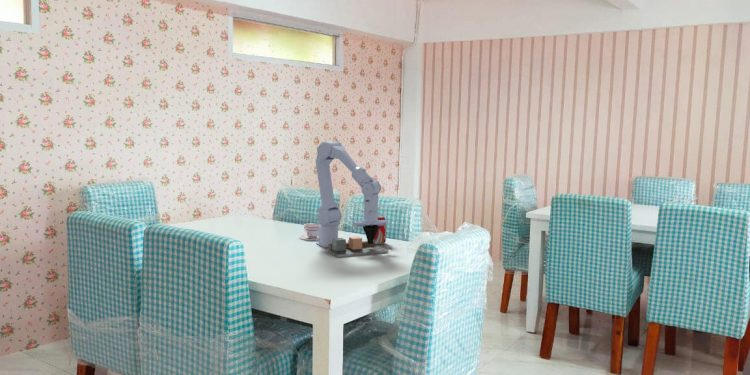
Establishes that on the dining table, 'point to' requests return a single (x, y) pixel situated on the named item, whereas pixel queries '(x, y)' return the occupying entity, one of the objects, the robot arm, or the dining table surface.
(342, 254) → the plate
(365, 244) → the rail
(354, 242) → the block
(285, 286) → the dining table surface
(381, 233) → the soda can
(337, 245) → the fixed leg
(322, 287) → the dining table surface
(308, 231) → the teacup
